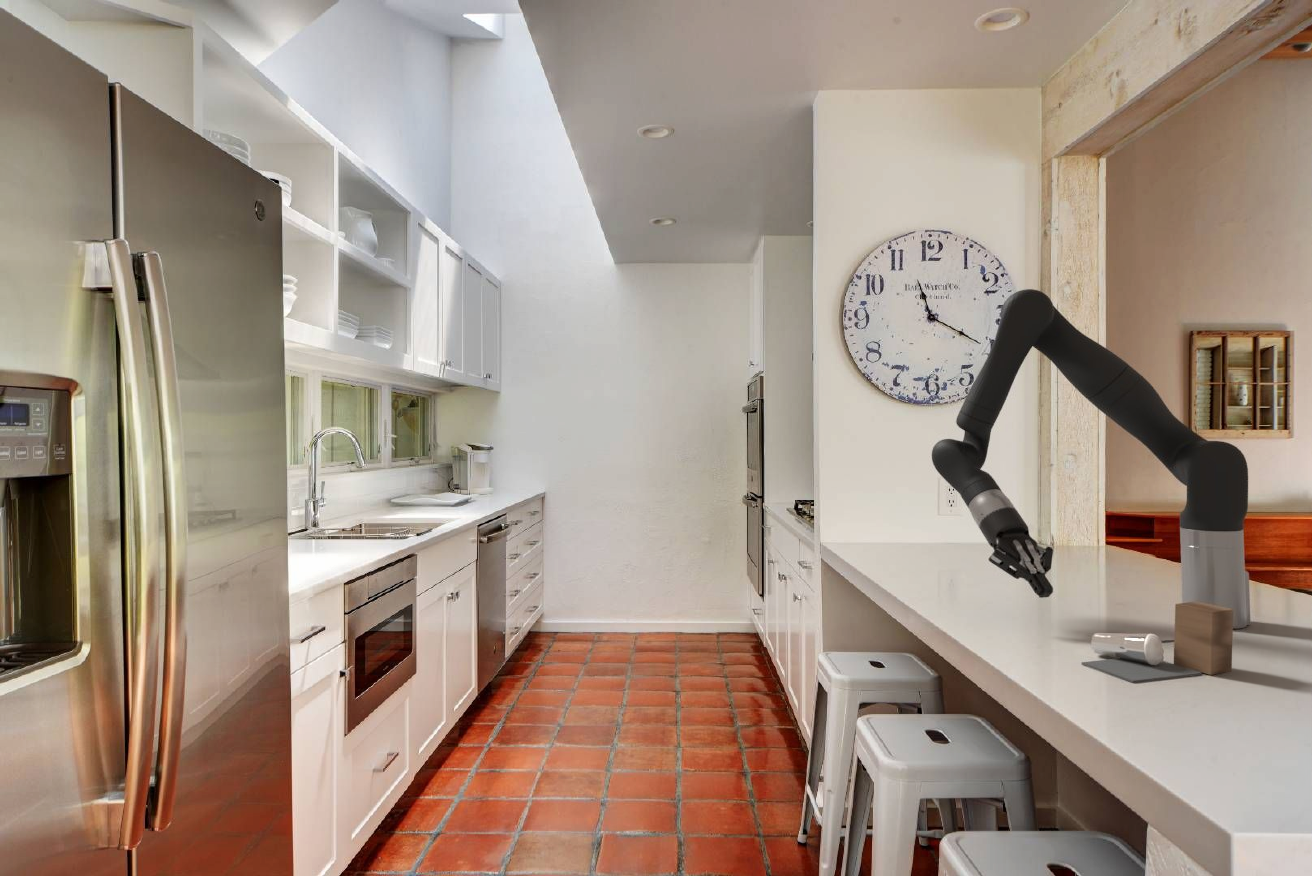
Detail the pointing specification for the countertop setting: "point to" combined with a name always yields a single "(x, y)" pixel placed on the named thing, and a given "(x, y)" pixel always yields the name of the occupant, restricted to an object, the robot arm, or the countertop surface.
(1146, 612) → the countertop surface
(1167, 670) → the mat
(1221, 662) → the walnut block
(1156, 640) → the milkshake
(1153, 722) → the countertop surface
